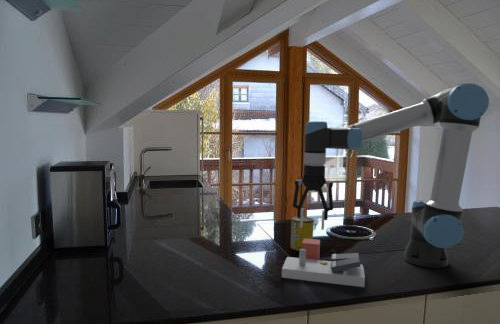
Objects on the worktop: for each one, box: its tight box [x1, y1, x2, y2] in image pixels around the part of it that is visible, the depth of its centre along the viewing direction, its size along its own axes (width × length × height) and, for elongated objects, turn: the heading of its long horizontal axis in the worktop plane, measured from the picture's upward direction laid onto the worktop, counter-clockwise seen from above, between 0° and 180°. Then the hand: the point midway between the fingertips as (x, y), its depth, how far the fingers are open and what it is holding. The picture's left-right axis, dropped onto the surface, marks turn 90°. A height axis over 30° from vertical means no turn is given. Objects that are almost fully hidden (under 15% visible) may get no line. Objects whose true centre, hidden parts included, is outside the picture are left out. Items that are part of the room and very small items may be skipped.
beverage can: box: [290, 216, 315, 252], centre depth 156 cm, size 9×9×12 cm
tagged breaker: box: [330, 252, 360, 262], centre depth 128 cm, size 9×5×2 cm, turn 76°
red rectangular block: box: [302, 238, 321, 260], centre depth 139 cm, size 6×6×8 cm
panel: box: [281, 249, 366, 288], centre depth 127 cm, size 26×12×8 cm, turn 77°
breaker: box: [331, 256, 361, 272], centre depth 122 cm, size 9×5×2 cm, turn 76°
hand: (311, 227), depth 138 cm, fingers open, 7 cm apart
